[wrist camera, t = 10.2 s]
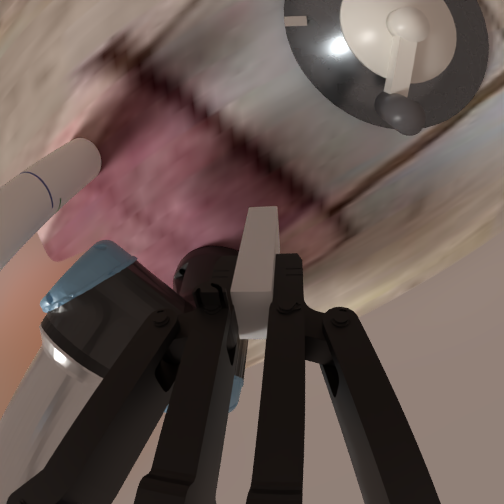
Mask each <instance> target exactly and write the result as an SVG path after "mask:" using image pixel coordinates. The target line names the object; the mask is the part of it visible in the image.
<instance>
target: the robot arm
mask: <svg viewBox="0 0 504 504" xmlns="http://www.w3.org/2000/svg"><path fill="white" fill-rule="evenodd" d="M40 306H41V307H42V309H43V312H46V313H47V315H46V316H45V318H44V319H43V321H42V322H41V324H40V332H41V337H42V346H41V348H40V350H39V351H38V353H37V355H36V356H35V358H34V360H33V361H32V363H31V365H30V366H29V368H28V370H27V372H26V373H25V375H24V377H23V379H22V381H21V382H20V384H19V386H18V388H17V390H16V391H15V393H14V395H13V397H12V399H11V401H10V403H9V405H8V407H7V409H6V411H5V413H4V415H3V417H2V419H1V421H0V504H111V503H112V502H113V500H114V499H115V497H116V496H117V494H118V492H119V490H120V488H121V487H122V485H123V483H124V481H125V480H126V478H127V476H128V474H129V473H130V471H131V469H132V467H133V465H134V464H135V462H136V460H137V459H138V457H139V455H140V453H141V451H142V450H143V448H144V446H145V444H146V443H147V441H148V439H149V437H150V436H151V434H152V432H153V430H154V429H155V427H156V425H157V423H158V421H159V420H160V418H161V416H162V414H163V412H166V415H165V419H164V422H163V426H162V430H161V434H160V437H159V441H158V445H157V449H156V453H155V457H154V461H153V465H152V468H151V471H150V472H149V474H147V475H146V476H144V477H143V478H142V480H141V481H140V483H139V486H138V489H137V493H136V497H135V501H134V504H216V500H215V496H216V488H217V482H218V475H219V469H220V463H221V457H222V450H223V444H224V438H225V431H226V425H227V419H228V413H229V412H231V411H232V410H233V409H235V407H236V406H237V404H238V401H239V396H240V392H241V388H242V386H243V382H244V381H243V380H244V371H245V363H246V355H247V346H248V339H266V349H265V359H264V371H263V380H262V391H261V400H260V410H259V419H258V429H257V438H256V448H255V456H254V465H253V474H252V482H251V487H250V490H249V492H248V496H247V501H246V504H302V488H303V463H304V430H305V360H308V361H312V362H315V363H319V364H320V368H321V370H322V374H323V376H324V380H325V382H326V385H327V388H328V391H329V394H330V397H331V400H332V403H333V406H334V409H335V412H336V415H337V418H338V421H339V424H340V427H341V430H342V433H343V437H344V440H345V443H346V446H347V449H348V452H349V455H350V458H351V461H352V465H353V468H354V471H355V474H356V477H357V481H358V484H359V487H360V490H361V493H362V496H363V500H364V503H365V504H441V503H440V501H439V498H438V496H437V493H436V490H435V487H434V485H433V482H432V480H431V477H430V474H429V472H428V469H427V467H426V464H425V462H424V459H423V457H422V454H421V452H420V450H419V447H418V445H417V442H416V440H415V438H414V435H413V433H412V431H411V428H410V426H409V424H408V421H407V419H406V417H405V415H404V412H403V410H402V408H401V406H400V403H399V401H398V399H397V397H396V395H395V392H394V390H393V388H392V386H391V384H390V382H389V379H388V377H387V375H386V373H385V371H384V369H383V367H382V365H381V363H380V360H379V358H378V356H377V354H376V352H375V350H374V348H373V346H372V344H371V342H370V340H369V338H368V336H367V334H366V332H365V330H364V328H363V326H362V324H361V322H360V320H359V318H358V316H357V315H356V314H355V312H354V311H352V310H350V309H348V308H344V307H335V308H332V309H329V310H328V311H327V312H326V313H322V312H318V311H315V310H313V309H311V308H309V307H308V306H307V305H306V303H305V302H304V295H303V269H302V259H301V258H300V257H299V255H298V254H297V253H295V254H280V239H279V224H278V210H277V206H267V207H249V209H248V214H247V218H246V223H245V227H244V232H243V236H242V240H241V245H240V249H239V252H238V251H236V250H233V249H230V248H226V247H218V246H210V247H203V248H199V249H196V250H194V251H192V252H190V253H188V254H187V255H186V256H185V257H184V258H183V259H182V260H181V262H180V263H179V265H178V267H177V270H176V272H175V275H174V279H173V290H172V289H171V288H170V287H169V286H167V285H166V284H165V283H164V282H162V281H161V280H160V279H159V278H157V277H156V276H155V275H154V274H152V273H151V272H150V271H149V270H147V269H146V268H145V267H144V266H143V265H142V264H140V263H139V262H138V261H137V258H136V257H135V256H131V255H130V254H129V253H127V252H126V251H125V250H123V249H122V248H121V247H120V246H118V245H117V244H116V243H114V242H113V241H110V240H101V241H99V242H97V243H95V244H94V245H93V246H92V247H91V248H90V249H89V250H88V251H87V252H86V253H84V255H82V256H81V257H80V258H79V259H78V261H76V262H75V263H74V264H73V266H72V267H71V268H70V269H69V270H68V271H67V272H66V273H65V274H64V275H63V276H62V277H61V278H60V279H59V280H58V282H57V283H56V284H55V285H54V286H53V287H52V288H51V290H50V291H49V292H48V293H47V294H46V296H45V297H44V298H43V299H42V300H41V302H40Z"/></svg>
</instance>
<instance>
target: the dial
mask: <svg viewBox="0 0 504 504" xmlns="http://www.w3.org/2000/svg"><path fill="white" fill-rule="evenodd" d="M339 19H340V27H341V31H342V34H343V37H344V40H345V41H346V43H347V45H348V47H349V49H350V50H351V52H352V53H353V54H354V56H355V57H356V58H357V59H358V60H359V61H360V62H361V63H362V64H363V65H364V66H365V67H367V68H368V69H369V70H371V71H372V72H374V73H375V74H377V75H379V76H381V77H383V78H386V81H385V87H384V91H383V92H381V93H380V94H379V95H378V96H377V97H376V99H375V103H374V106H375V110H376V112H377V114H378V115H379V116H380V117H381V118H382V119H383V120H385V121H386V122H387V123H388V124H390V125H391V126H392V127H393V128H395V129H396V130H397V131H398V132H400V133H401V134H403V135H408V136H410V135H415V134H417V133H419V132H420V131H421V130H422V128H423V127H424V125H425V121H426V116H425V112H424V109H423V108H422V106H421V105H420V104H419V103H417V102H416V101H414V100H412V99H409V98H407V96H408V92H409V87H410V84H411V83H421V82H425V81H428V80H431V79H433V78H435V77H436V76H438V75H439V74H441V73H442V72H443V71H444V70H445V69H446V67H447V66H448V65H449V63H450V62H451V60H452V58H453V55H454V52H455V48H456V40H457V37H456V28H455V23H454V20H453V17H452V15H451V12H450V10H449V8H448V7H447V5H446V3H445V2H444V1H443V0H342V2H341V6H340V14H339Z"/></svg>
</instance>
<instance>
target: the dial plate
mask: <svg viewBox="0 0 504 504" xmlns="http://www.w3.org/2000/svg"><path fill="white" fill-rule="evenodd" d="M443 1H444V2H445V3H446V5H447V7H448V8H449V10H450V12H451V15H452V17H453V20H454V23H455V28H456V37H457V40H456V48H455V52H454V55H453V58H452V60H451V62H450V63H449V65H448V66H447V67H446V69H445V70H444V71H443V72H442V73H441V74H439V75H438V76H436V77H435V78H433V79H431V80H428V81H425V82H421V83H411V84H410V87H409V92H408V96H407V98H409V99H412V100H414V101H416V102H417V103H419V104H420V105H421V106H422V108H423V109H424V112H425V116H426V121H425V125H424V127H423V128H426V127H429V126H433V125H436V124H439V123H441V122H443V121H446V120H448V119H449V118H451V117H452V116H454V115H456V114H457V113H458V112H459V111H461V110H462V109H463V108H464V107H465V106H466V105H467V104H468V103H469V102H470V101H471V99H472V98H473V97H474V95H475V94H476V92H477V91H478V89H479V87H480V85H481V83H482V80H483V78H484V75H485V71H486V68H487V62H488V50H489V44H488V33H487V29H486V24H485V20H484V17H483V14H482V11H481V9H480V6H479V4H478V2H477V0H443ZM341 2H342V0H285V4H284V21H285V28H286V34H287V38H288V41H289V44H290V47H291V50H292V52H293V54H294V56H295V58H296V61H297V62H298V64H299V66H300V67H301V69H302V70H303V72H304V74H305V75H306V76H307V77H308V79H309V80H310V81H311V82H312V84H313V85H314V86H315V87H316V88H317V89H318V90H319V91H320V92H321V93H322V94H323V95H324V96H325V97H326V98H327V99H329V100H330V101H331V102H332V103H333V104H335V105H336V106H337V107H339V108H340V109H342V110H344V111H345V112H347V113H348V114H350V115H352V116H354V117H356V118H358V119H360V120H362V121H365V122H368V123H371V124H373V125H377V126H381V127H385V128H392V129H395V128H393V127H392V126H391V125H390V124H388V123H387V122H386V121H385V120H383V119H382V118H381V117H380V116H379V115H378V114H377V112H376V110H375V106H374V103H375V99H376V97H377V96H378V95H379V94H380V93H381V92H383V91H384V87H385V81H386V78H383V77H381V76H379V75H377V74H375V73H374V72H372V71H371V70H369V69H368V68H367V67H365V66H364V65H363V64H362V63H361V62H360V61H359V60H358V59H357V58H356V57H355V56H354V54H353V53H352V52H351V50H350V49H349V47H348V45H347V43H346V41H345V40H344V37H343V34H342V31H341V27H340V19H339V14H340V6H341Z"/></svg>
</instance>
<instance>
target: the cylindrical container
mask: <svg viewBox="0 0 504 504" xmlns="http://www.w3.org/2000/svg"><path fill="white" fill-rule="evenodd" d="M100 169H101V156H100V153H99V151H98V149H97V147H96V146H95V145H94V144H93V143H92V142H91V141H89V140H88V139H85V138H76V139H73V140H71V141H70V142H68V143H66V144H65V145H63V146H61V147H60V148H58V149H56V150H55V151H53V152H52V153H50V154H48V155H47V156H45V157H44V158H42V159H41V160H39V161H38V162H36V163H35V164H33V165H32V166H30V167H29V168H27V169H26V170H24V171H23V172H21V173H20V174H19V175H17V176H16V177H14V178H13V179H12V180H10V181H9V182H7V183H6V184H5V185H3V186H2V187H1V188H0V271H1V270H2V269H3V267H4V266H5V265H6V264H7V263H8V262H9V261H10V259H11V258H12V257H13V256H14V255H15V254H16V253H17V252H18V251H19V249H21V247H22V246H23V245H24V244H25V243H26V242H27V241H28V240H29V239H30V238H31V237H32V236H33V235H34V234H35V233H36V232H37V231H38V230H39V229H40V228H41V227H42V226H43V225H44V224H45V223H46V222H47V221H48V220H49V219H50V218H51V217H52V216H53V215H54V214H55V213H56V212H57V211H58V210H59V209H60V208H62V207H63V206H64V205H65V204H66V203H67V202H68V201H69V200H70V199H71V198H72V197H74V196H75V195H76V194H77V193H78V192H79V191H80V190H81V189H83V188H84V187H85V186H86V185H87V184H88V183H89V182H91V181H92V180H93V179H94V178H95V177H96V176H97V175H98V174H99V172H100Z"/></svg>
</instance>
